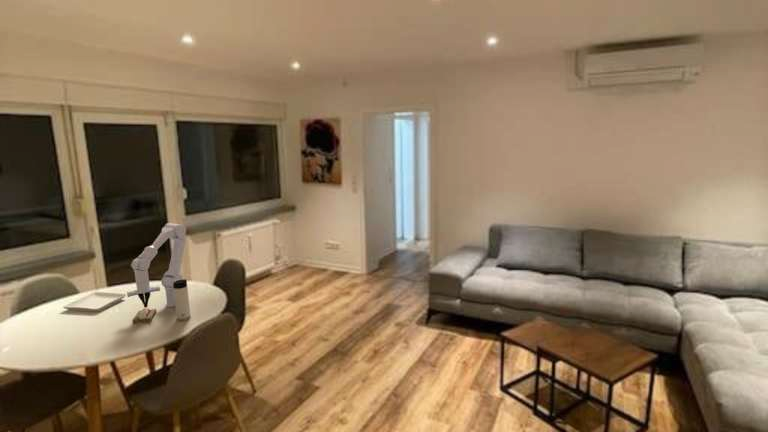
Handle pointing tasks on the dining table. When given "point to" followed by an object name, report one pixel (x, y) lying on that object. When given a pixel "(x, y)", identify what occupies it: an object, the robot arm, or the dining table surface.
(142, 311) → the button mid
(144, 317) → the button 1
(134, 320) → the panel
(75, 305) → the salad plate
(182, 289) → the travel mug
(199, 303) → the dining table surface
